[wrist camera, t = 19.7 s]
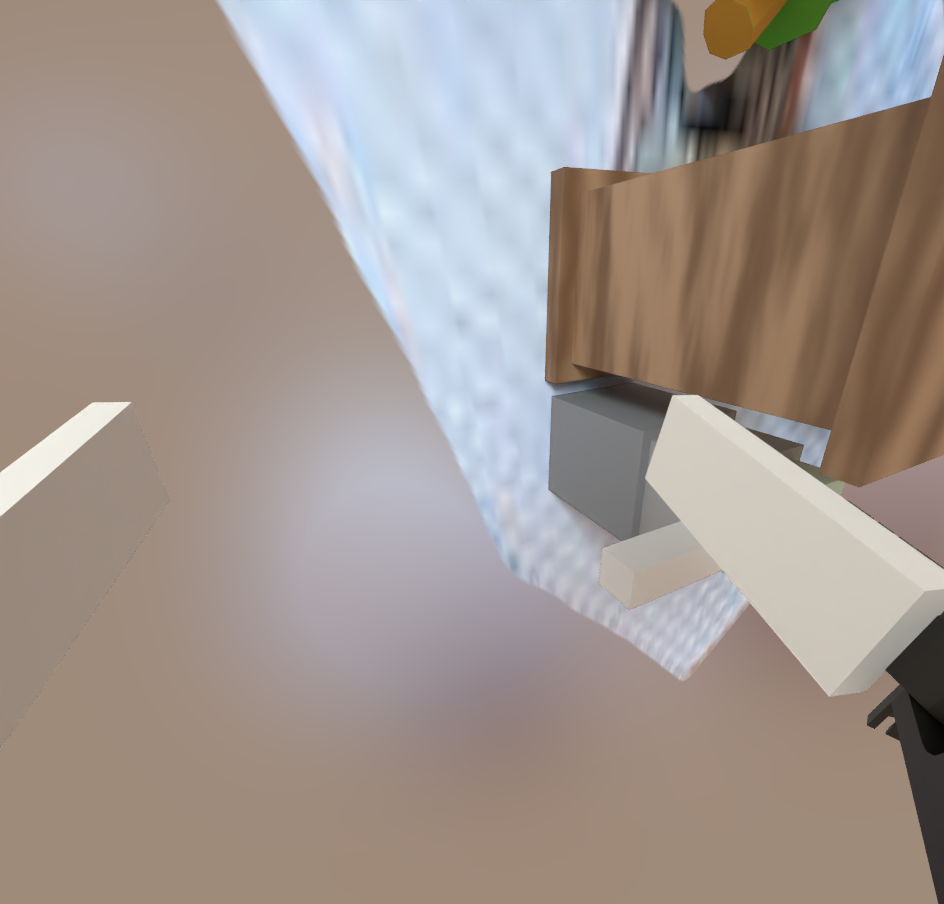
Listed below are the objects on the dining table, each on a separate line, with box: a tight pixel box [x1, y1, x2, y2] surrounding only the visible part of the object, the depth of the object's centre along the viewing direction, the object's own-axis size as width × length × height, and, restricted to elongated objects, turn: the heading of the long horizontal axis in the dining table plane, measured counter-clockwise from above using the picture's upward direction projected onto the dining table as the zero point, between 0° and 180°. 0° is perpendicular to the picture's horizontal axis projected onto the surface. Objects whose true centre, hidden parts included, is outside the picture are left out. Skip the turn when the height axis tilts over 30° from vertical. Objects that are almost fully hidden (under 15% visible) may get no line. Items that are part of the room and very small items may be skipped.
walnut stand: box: [545, 56, 944, 487], centre depth 35 cm, size 14×20×30 cm
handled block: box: [599, 459, 845, 610], centre depth 33 cm, size 20×8×4 cm, turn 92°
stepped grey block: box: [549, 383, 804, 541], centre depth 45 cm, size 12×12×21 cm
